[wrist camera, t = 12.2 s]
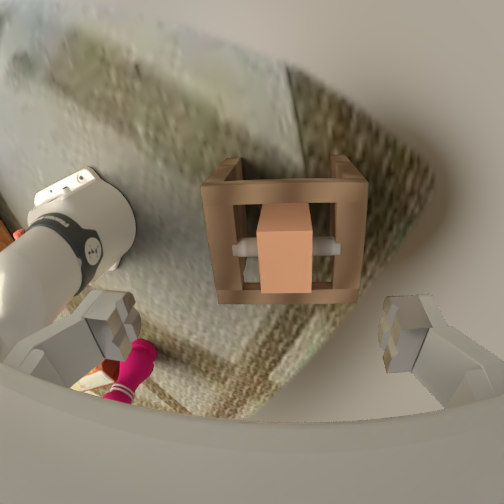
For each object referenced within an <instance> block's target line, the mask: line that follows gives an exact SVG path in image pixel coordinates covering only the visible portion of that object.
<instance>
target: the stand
mask: <svg viewBox="0 0 504 504" xmlns="http://www.w3.org/2000/svg"><path fill="white" fill-rule="evenodd" d="M368 184H369V183H368V181H367V180H366V179H365V178H364V177H363V175H362V174H361V173H360V172H359V171H358V169H357V168H356V167H355V166H354V165H353V164H352V163H351V161H350V160H349V159H348V158H347V157H346V156H345V155H330V178H296V179H263V180H243V175H242V164H241V157H239V158H226V159H225V160H224V161H223V163H222V164H221V165H220V166H219V167H218V168H217V169H216V170H215V171H214V172H213V173H212V175H211V176H210V177H209V178H208V179H207V180H206V181H205V182H204V183H203V184H202V186H201V187H200V189H201V197H202V204H203V211H204V217H205V224H206V231H207V237H208V244H209V250H210V256H211V262H212V268H213V274H214V280H215V286H216V292H217V298H218V303H219V304H341V303H357V300H358V293H359V286H360V278H361V270H362V261H363V251H364V241H365V230H366V217H367V203H368ZM275 203H330V229H329V236H312V256H329V255H331V260H332V280H331V282H312V287H311V293H261V283H244V277H243V272H244V268H245V264H246V260H247V257H258V246H257V237H248V229H247V218H246V207H245V204H275Z"/></svg>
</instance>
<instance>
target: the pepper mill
mask: <svg viewBox="0 0 504 504" xmlns="http://www.w3.org/2000/svg"><path fill="white" fill-rule="evenodd" d="M131 345H132V350H131V352H130V353H129V355H128V357H127V359H126V361H125V362H124V361H120V372H119V377H118V380H117V382H116V384H113V385H112V388H111V389H110V392H109V393H107V394H105V395H104V397H103V398H106V399H110V400H114V401H118V402H123V403H127V404H131V403H133V401H134V399H135V394H134V393H135V390H136V389H137V387H138V386H139V384H140V383H142V382H143V381H144V380H145V379H147V378H148V377H149V376H150V374H151V373H152V371H153V368H154V364H153V362H154V361H155V359H156V356H157V350H156V348H155V347H154V346H153V345H152V344H151V343H149V342H148V341H146V340H143V339H136V340H135V341H133V342H132V343H131Z"/></svg>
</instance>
